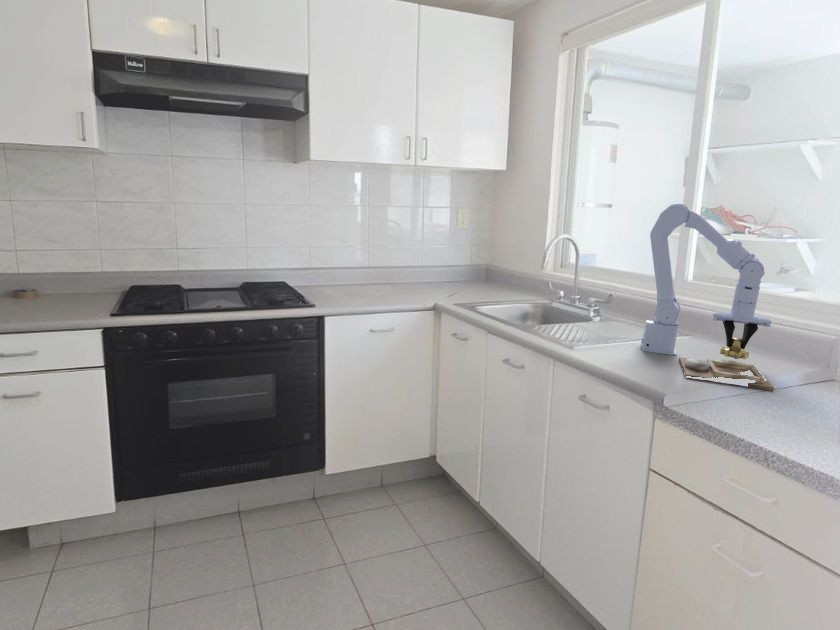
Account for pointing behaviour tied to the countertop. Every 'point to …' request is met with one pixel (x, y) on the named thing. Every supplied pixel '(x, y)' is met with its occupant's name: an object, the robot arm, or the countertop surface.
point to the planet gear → (735, 349)
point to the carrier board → (723, 371)
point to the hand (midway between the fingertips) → (735, 347)
